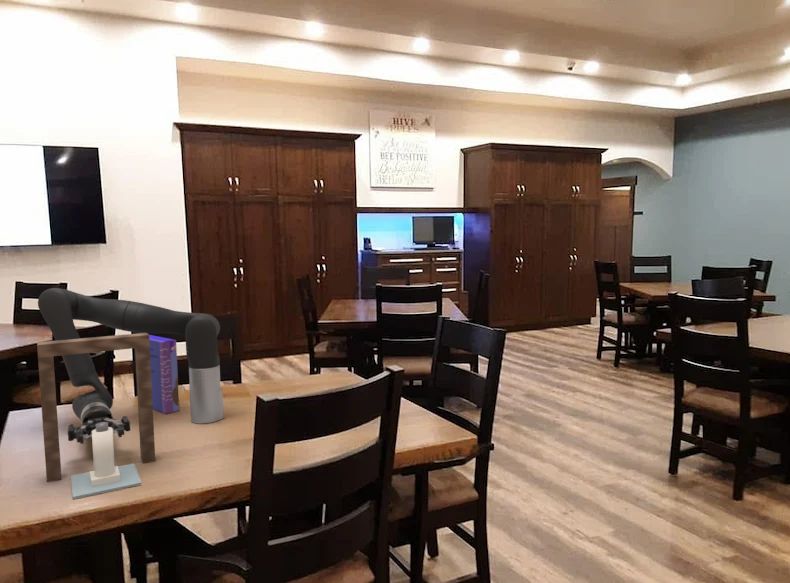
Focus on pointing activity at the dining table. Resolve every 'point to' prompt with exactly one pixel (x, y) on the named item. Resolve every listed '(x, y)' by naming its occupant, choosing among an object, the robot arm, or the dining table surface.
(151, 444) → the archway
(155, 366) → the cereal box
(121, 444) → the dining table surface
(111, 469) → the white tall cylinder
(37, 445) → the dining table surface
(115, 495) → the dining table surface
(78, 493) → the mat
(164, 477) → the dining table surface
